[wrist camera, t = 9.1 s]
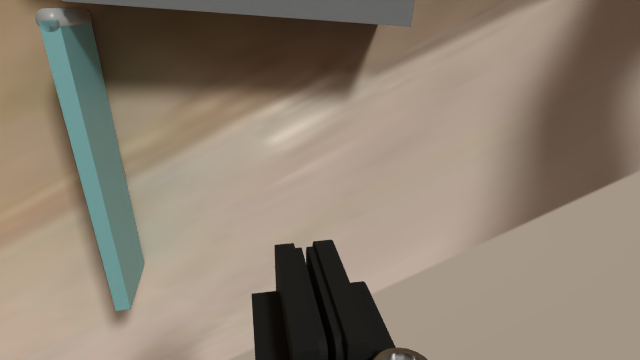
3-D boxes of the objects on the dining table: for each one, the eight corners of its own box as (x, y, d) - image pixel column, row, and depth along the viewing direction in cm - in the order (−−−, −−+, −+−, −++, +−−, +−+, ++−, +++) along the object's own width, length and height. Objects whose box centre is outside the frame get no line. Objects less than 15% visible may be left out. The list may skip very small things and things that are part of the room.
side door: (145, 263, 35) (132, 308, 30) (130, 265, 35) (114, 311, 29) (89, 7, 27) (57, 7, 22) (70, 8, 27) (32, 8, 22)
